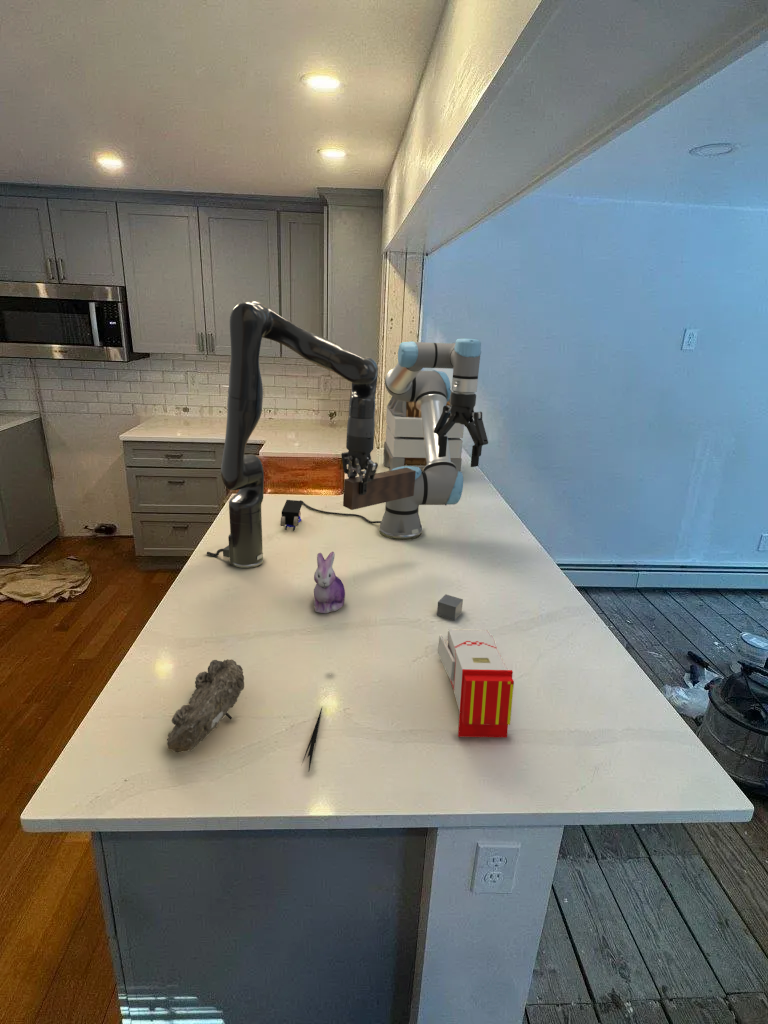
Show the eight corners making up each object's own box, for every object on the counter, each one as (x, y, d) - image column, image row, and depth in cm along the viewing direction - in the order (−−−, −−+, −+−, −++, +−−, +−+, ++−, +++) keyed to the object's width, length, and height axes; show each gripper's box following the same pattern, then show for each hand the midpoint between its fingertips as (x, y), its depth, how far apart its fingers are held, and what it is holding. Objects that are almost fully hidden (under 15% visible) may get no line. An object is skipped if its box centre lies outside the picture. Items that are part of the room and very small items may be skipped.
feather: (331, 679, 122) (336, 673, 122) (307, 777, 96) (313, 769, 95) (324, 675, 122) (329, 669, 121) (298, 772, 95) (304, 764, 95)
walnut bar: (351, 510, 159) (352, 483, 156) (342, 505, 161) (344, 479, 158) (413, 495, 174) (415, 470, 171) (404, 492, 176) (406, 467, 174)
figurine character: (299, 536, 197) (303, 517, 210) (298, 517, 193) (303, 498, 207) (279, 536, 197) (285, 516, 210) (278, 516, 193) (285, 497, 207)
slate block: (436, 615, 148) (437, 601, 146) (444, 607, 152) (445, 594, 151) (454, 620, 146) (455, 607, 144) (461, 612, 150) (463, 599, 148)
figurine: (319, 618, 143) (319, 564, 138) (305, 600, 152) (304, 548, 147) (353, 610, 148) (354, 558, 143) (337, 593, 156) (338, 543, 151)
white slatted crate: (382, 463, 289) (386, 382, 275) (445, 464, 293) (451, 384, 279) (390, 482, 257) (394, 392, 243) (460, 483, 261) (468, 394, 247)
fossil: (192, 660, 117) (244, 628, 112) (224, 691, 120) (276, 661, 115) (142, 746, 98) (202, 712, 93) (182, 779, 101) (242, 748, 96)
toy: (488, 613, 130) (523, 677, 101) (484, 667, 133) (517, 744, 104) (435, 612, 130) (455, 676, 101) (432, 666, 133) (451, 743, 103)
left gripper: (334, 428, 157) (331, 487, 163) (366, 439, 147) (362, 501, 153) (355, 426, 162) (352, 483, 168) (388, 437, 152) (383, 497, 158)
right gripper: (425, 387, 176) (421, 454, 183) (488, 399, 158) (480, 472, 166) (442, 386, 181) (437, 451, 188) (505, 397, 163) (497, 468, 170)
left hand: (357, 491), depth 161 cm, fingers closed on walnut bar, 4 cm apart
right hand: (457, 461), depth 177 cm, fingers open, 13 cm apart
